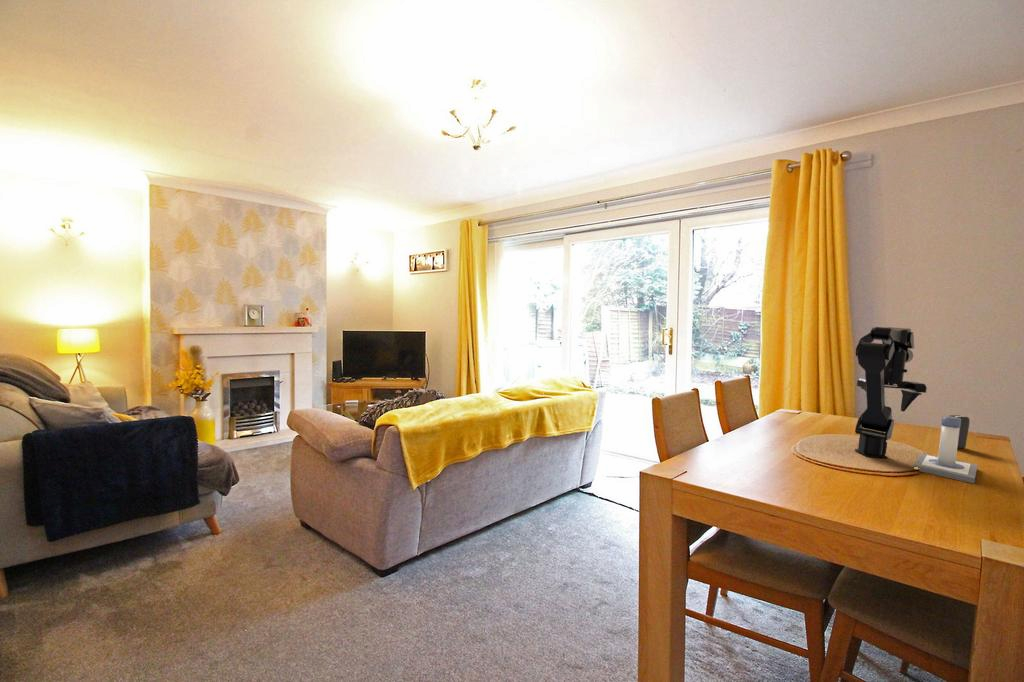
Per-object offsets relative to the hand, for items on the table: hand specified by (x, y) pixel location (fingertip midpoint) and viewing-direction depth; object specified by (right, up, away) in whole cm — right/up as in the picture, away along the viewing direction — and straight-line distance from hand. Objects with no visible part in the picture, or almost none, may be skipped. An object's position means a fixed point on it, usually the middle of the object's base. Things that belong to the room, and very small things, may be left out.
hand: (887, 410), depth 162 cm
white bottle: (+2, -13, -19) cm, 23 cm away
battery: (+28, -14, +6) cm, 32 cm away
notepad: (+2, -15, -19) cm, 24 cm away
